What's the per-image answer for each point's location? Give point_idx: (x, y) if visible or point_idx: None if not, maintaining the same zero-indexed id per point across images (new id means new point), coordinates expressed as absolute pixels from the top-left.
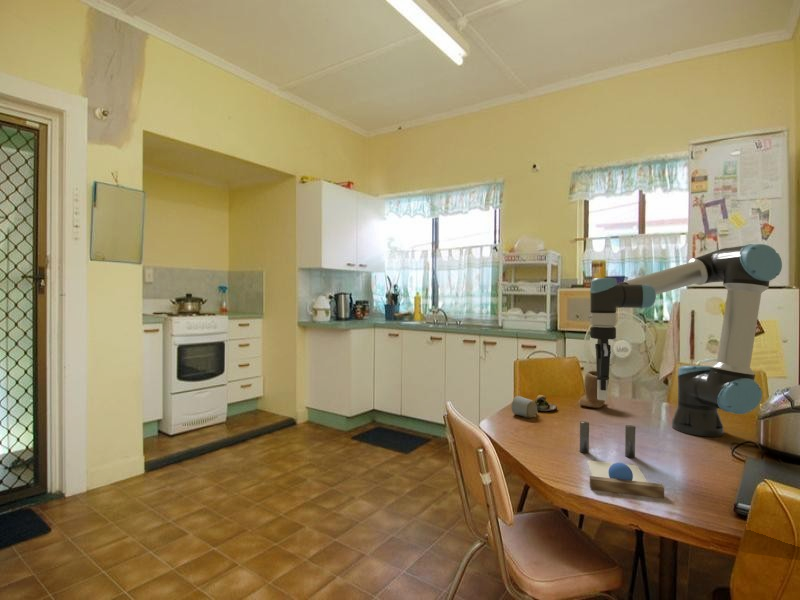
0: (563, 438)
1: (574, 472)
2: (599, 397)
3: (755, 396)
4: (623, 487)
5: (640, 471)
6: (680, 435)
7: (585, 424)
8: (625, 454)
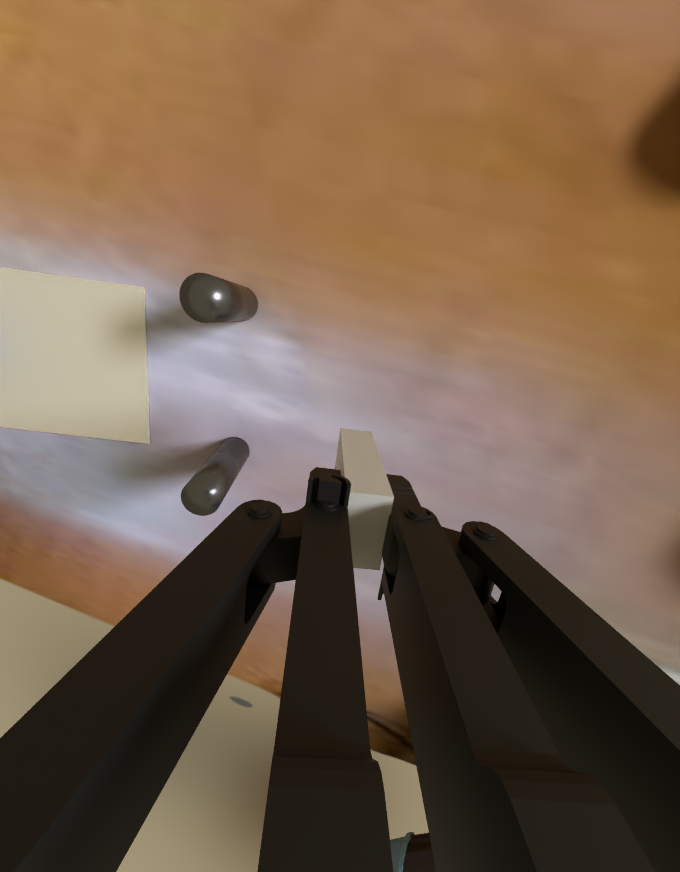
0: (395, 255)
1: (6, 205)
2: (340, 441)
3: None
4: None
5: (97, 436)
6: None
7: (181, 297)
8: (231, 438)
